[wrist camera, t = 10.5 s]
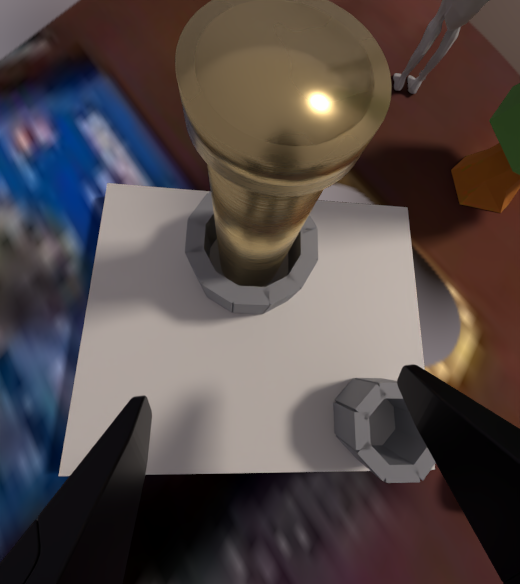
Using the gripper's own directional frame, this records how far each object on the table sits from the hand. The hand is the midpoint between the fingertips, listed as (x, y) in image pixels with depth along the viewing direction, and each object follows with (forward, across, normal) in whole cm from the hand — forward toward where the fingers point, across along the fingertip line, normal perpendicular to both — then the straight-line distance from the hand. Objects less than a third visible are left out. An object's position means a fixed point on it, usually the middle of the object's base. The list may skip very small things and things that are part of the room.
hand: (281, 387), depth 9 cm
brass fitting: (+11, 0, 0) cm, 11 cm away
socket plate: (+9, -1, +4) cm, 10 cm away
